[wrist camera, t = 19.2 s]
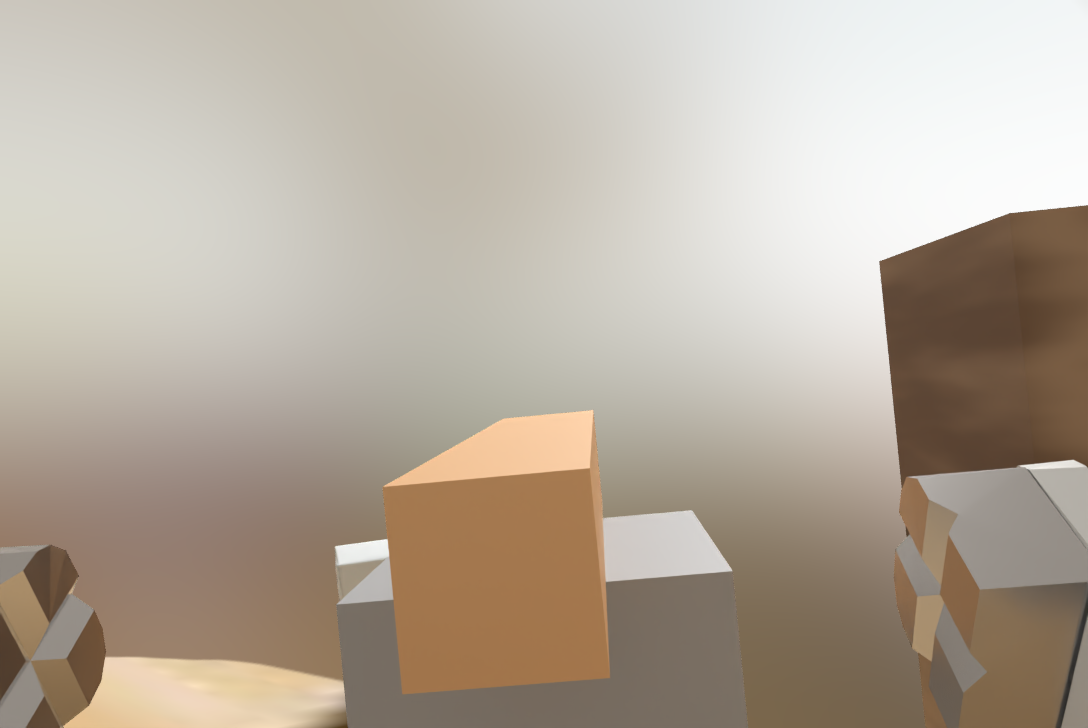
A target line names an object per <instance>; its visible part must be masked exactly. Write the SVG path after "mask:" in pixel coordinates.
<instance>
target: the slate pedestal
mask: <svg viewBox="0 0 1088 728" xmlns="http://www.w3.org/2000/svg"><path fill="white" fill-rule="evenodd" d="M603 533H604V555H605V577H606V599H607V621H608V644H609V666H610V678H604V679H592V680H579V681H566V682H553V683H541V684H528V685H515V686H503V687H490V688H477V689H465V690H452V691H439V692H426V693H414V694H402V686H401V675H400V665H399V654H398V644H397V633H396V623H395V612H394V602H393V591H392V581H391V570H390V559H389V557H387V558H386V559H385V560H384V561H383V562H382V563H381V564H380V565H379V566H378V567H377V568H376V569H374V570H373V571H372V572H371V573H370V574H369V575H368V576H367V577H366V578H365V579H364V580H362V581H361V582H360V583H359V584H358V585H357V586H356V587H355V588H354V589H353V590H352V591H351V592H349V593H348V594H347V595H346V596H345V597H344V598H343V599H342V600H341V601H340V602H339V603H338V604H337V605H336V606H337V616H338V627H339V638H340V648H341V659H342V669H343V680H344V690H345V701H346V712H347V722H348V728H748V724H747V713H746V702H745V693H744V683H743V672H742V662H741V652H740V641H739V631H738V621H737V611H736V600H735V590H734V580H733V571H732V569H731V568H730V566H729V565H728V563H727V562H726V560H725V559H724V557H723V556H722V555H721V553H720V552H719V550H718V549H717V547H716V546H715V544H714V543H713V541H712V540H711V538H710V537H709V535H708V534H707V532H706V531H705V529H704V528H703V526H702V525H701V523H700V522H699V520H698V519H697V517H696V516H695V514H694V513H693V512H692V510H691V511H680V512H668V513H657V514H646V515H634V516H623V517H611V518H603Z"/></svg>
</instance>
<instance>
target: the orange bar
mask: <svg viewBox="0 0 1088 728" xmlns="http://www.w3.org/2000/svg"><path fill="white" fill-rule="evenodd" d="M593 413H594V412H593V410H591V411H580V412H570V413H559V414H548V415H538V416H527V417H516V418H506V419H502V420H500V421H498V422H497V423H495V424H493V425H491V426H490V427H488V428H486V429H484V430H483V431H481V432H479V433H477V434H475V435H474V436H472V437H470V438H468V439H467V440H465V441H463V442H461V443H459V444H458V445H456V446H454V447H452V448H451V449H449V450H448V451H445V452H444V453H442V454H440V455H438V456H436V457H435V458H433V459H431V460H429V461H428V462H426V463H424V464H422V465H421V466H419V467H417V468H415V469H413V470H412V471H410V472H408V473H406V474H405V475H403V476H401V477H399V478H398V479H396V480H394V481H393V482H390V483H389V484H387V485H385V486H384V487H383V496H384V507H385V517H386V527H387V538H388V549H389V559H390V570H391V581H392V591H393V602H394V612H395V623H396V633H397V644H398V654H399V665H400V675H401V686H402V694H414V693H426V692H439V691H452V690H465V689H477V688H490V687H503V686H515V685H528V684H541V683H553V682H566V681H579V680H592V679H604V678H610V666H609V644H608V621H607V599H606V577H605V555H604V533H603V510H602V495H601V485H600V475H599V465H598V454H597V443H596V433H595V423H594V414H593Z"/></svg>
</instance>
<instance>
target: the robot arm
mask: <svg viewBox="0 0 1088 728" xmlns="http://www.w3.org/2000/svg"><path fill="white" fill-rule="evenodd" d="M899 513H900V515H901V516H902V519H903V521H904V523H905V525H906V527H907V529H908V531H909V533H910V534H909V535H908V536H907V537H906V539H905V540H904V541H903V542H902V543H901V544H900V545H899V546H898V547H897V548H896V550H895V568H894V582H895V591H896V600H897V606H898V610H899V614H900V617H901V621H902V624H903V627H904V630H905V632H906V635H907V637H908V640H909V642H910V644H911V647H912V649H914V650H915V651H917V652H918V653H920V654H921V655H923V656H924V657H925V658H927V659H928V660H930V661H931V671H930V679H929V688H930V690H931V693H932V695H933V697H934V699H935V702H936V704H937V706H938V708H939V710H940V713H941V715H942V717H943V719H944V722H945V724H946V726H947V728H1088V468H1087V467H1086V466H1085V465H1084V464H1081V463H1079V462H1077V461H1075V460H1067V461H1058V462H1048V463H1039V464H1029V465H1020V466H1017V467H1016V468H1007V469H995V470H983V471H971V472H959V473H947V474H935V475H924V476H912V477H906V480H905V482H904V485H903V488H902V490H901V500H900V509H899ZM78 577H79V575H78V573H77V571H76V569H75V567H74V565H73V563H72V562H71V560H70V558H69V556H68V554H67V552H66V550H63V549H61V548H58V547H55V546H52V545H38V546H21V547H3V548H0V728H64V727H63V726H64V725H65V724H66V723H68V722H69V721H70V720H71V719H73V718H74V717H75V716H76V715H78V714H79V713H80V712H81V711H83V710H84V709H85V708H86V707H88V706H89V704H90V702H91V700H92V698H93V696H94V694H95V692H96V690H97V688H98V686H99V684H100V682H101V679H102V672H103V666H104V660H105V654H106V649H105V643H104V637H103V629H102V627H101V624H100V622H99V620H98V617H97V615H96V613H95V611H94V609H92V608H91V607H89V606H88V605H87V604H85V603H84V602H82V601H81V600H79V599H78V598H77V597H75V596H74V595H72V592H73V589H74V587H75V585H76V582H77V580H78Z"/></svg>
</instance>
